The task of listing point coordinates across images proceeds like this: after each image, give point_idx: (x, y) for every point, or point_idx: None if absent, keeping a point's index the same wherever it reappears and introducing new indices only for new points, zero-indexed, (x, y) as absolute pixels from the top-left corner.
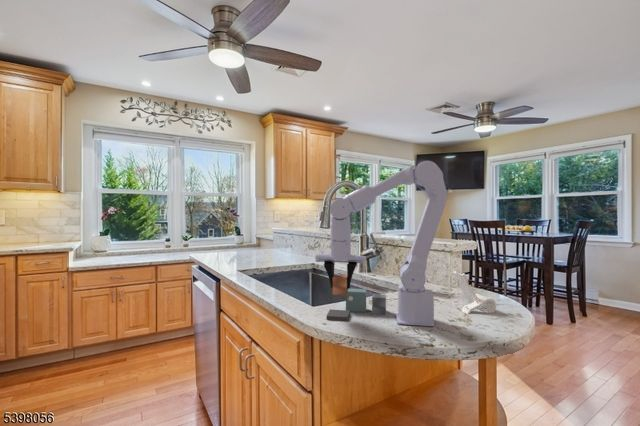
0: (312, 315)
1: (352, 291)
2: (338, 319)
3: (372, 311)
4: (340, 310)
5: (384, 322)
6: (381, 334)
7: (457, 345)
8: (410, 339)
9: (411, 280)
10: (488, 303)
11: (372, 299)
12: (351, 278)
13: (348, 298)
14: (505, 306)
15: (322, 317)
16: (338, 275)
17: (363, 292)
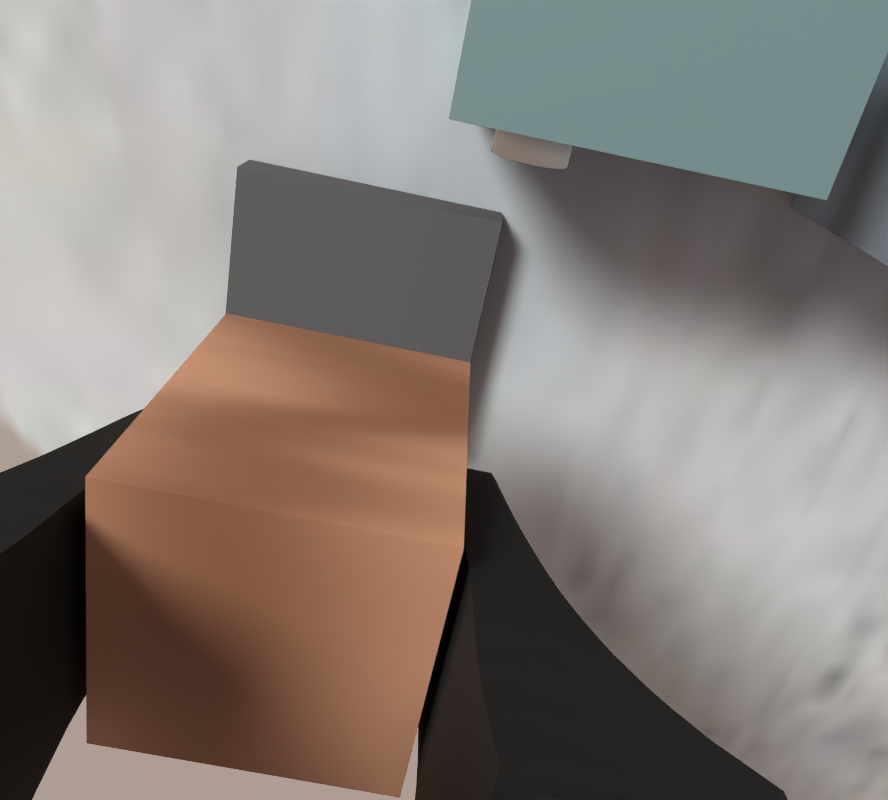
0: (53, 256)
1: (583, 116)
2: None
3: (805, 215)
4: (378, 214)
5: (822, 480)
6: (688, 706)
7: None
8: (868, 781)
9: None
10: None
11: (878, 258)
12: (537, 563)
13: (495, 152)
14: None
15: (179, 324)
16: (202, 610)
17: (786, 191)
